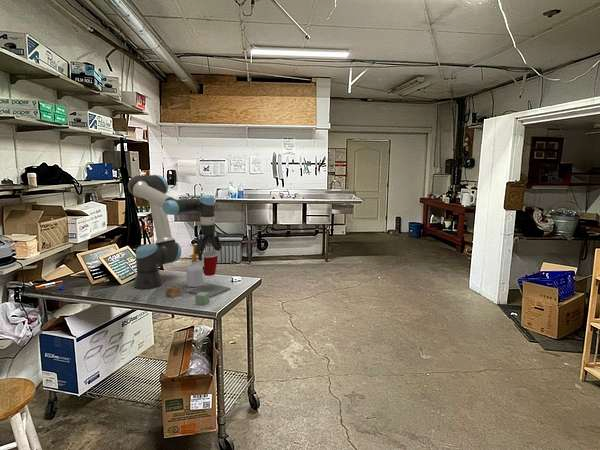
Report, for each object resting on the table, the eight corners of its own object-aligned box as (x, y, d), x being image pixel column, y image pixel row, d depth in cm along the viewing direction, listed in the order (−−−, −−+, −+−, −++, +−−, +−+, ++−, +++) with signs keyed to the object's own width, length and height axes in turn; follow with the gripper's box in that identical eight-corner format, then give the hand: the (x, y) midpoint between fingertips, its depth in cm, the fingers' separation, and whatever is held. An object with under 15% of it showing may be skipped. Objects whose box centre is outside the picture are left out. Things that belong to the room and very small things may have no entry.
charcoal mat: (188, 292, 202) (188, 291, 202) (209, 285, 216) (209, 283, 216) (210, 297, 195) (210, 296, 194) (230, 289, 208) (230, 287, 208)
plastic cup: (196, 277, 199) (195, 255, 197) (202, 271, 209) (202, 251, 208) (216, 277, 198) (215, 255, 197) (221, 272, 209) (221, 251, 207)
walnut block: (166, 296, 196) (165, 287, 195) (173, 294, 200) (173, 285, 200) (172, 298, 193) (172, 289, 193) (180, 295, 198) (179, 286, 197)
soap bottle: (184, 286, 213) (182, 244, 210) (192, 282, 222) (191, 241, 218) (197, 288, 210) (196, 245, 207) (206, 283, 219) (204, 242, 216)
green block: (195, 304, 185) (195, 294, 184) (200, 301, 190) (200, 291, 189) (204, 305, 184) (204, 295, 183) (209, 302, 188) (209, 292, 188)
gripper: (197, 227, 188) (198, 269, 191) (227, 222, 208) (228, 260, 211) (186, 226, 192) (188, 267, 195) (217, 221, 212) (218, 258, 215)
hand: (209, 264), depth 203 cm, fingers closed on plastic cup, 11 cm apart
